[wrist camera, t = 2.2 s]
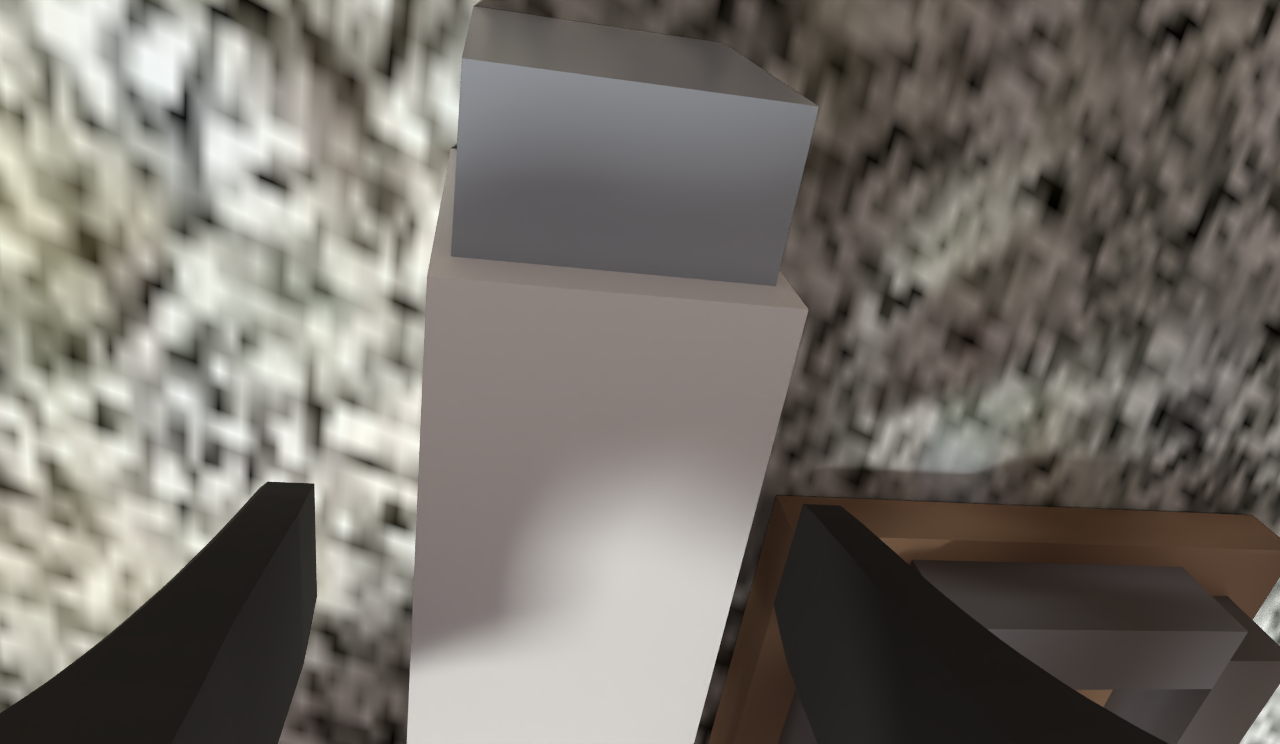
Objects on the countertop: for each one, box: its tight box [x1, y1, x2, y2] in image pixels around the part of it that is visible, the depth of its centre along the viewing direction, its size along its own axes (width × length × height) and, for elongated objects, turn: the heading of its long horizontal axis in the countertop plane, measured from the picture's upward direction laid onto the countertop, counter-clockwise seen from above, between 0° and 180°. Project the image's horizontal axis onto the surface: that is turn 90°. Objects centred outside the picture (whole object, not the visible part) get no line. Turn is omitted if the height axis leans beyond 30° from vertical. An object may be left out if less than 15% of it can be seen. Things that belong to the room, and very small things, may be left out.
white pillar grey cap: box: [407, 6, 819, 744], centre depth 13 cm, size 4×12×5 cm, turn 171°
